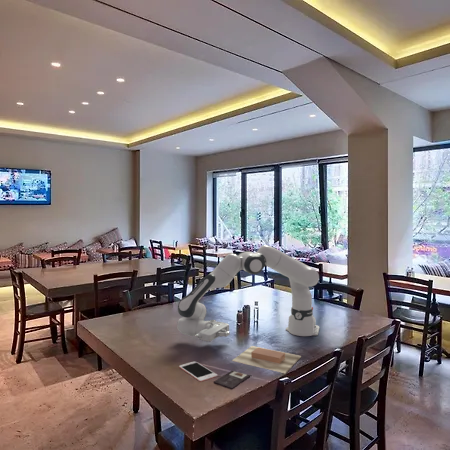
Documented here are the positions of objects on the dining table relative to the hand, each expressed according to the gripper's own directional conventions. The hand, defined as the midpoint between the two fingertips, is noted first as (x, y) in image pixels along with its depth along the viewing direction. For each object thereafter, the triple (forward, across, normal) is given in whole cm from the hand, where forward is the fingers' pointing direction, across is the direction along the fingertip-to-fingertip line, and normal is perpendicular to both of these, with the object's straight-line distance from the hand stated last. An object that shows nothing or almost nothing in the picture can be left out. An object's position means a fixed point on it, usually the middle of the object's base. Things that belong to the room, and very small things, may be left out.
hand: (228, 334), depth 181 cm
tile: (+14, 0, +6) cm, 16 cm away
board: (+21, 0, +8) cm, 23 cm away
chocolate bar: (+17, -24, +9) cm, 31 cm away
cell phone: (0, -27, +9) cm, 29 cm away
